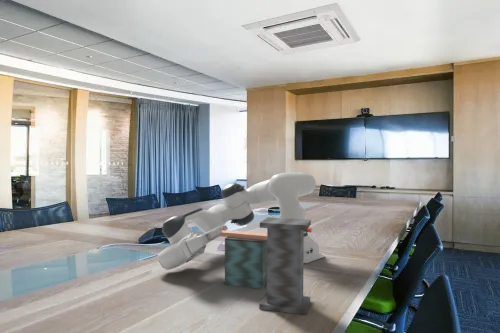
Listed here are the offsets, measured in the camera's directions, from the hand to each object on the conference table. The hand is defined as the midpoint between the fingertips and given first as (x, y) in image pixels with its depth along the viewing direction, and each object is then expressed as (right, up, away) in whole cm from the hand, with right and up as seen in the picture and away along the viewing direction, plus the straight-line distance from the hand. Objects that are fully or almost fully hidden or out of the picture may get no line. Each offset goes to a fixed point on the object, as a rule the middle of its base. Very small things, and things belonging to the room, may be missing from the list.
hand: (223, 228), depth 130 cm
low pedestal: (+9, -19, -2) cm, 21 cm away
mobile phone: (-3, -19, +48) cm, 52 cm away
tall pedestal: (+21, -20, -22) cm, 36 cm away
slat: (+9, -3, -3) cm, 10 cm away
